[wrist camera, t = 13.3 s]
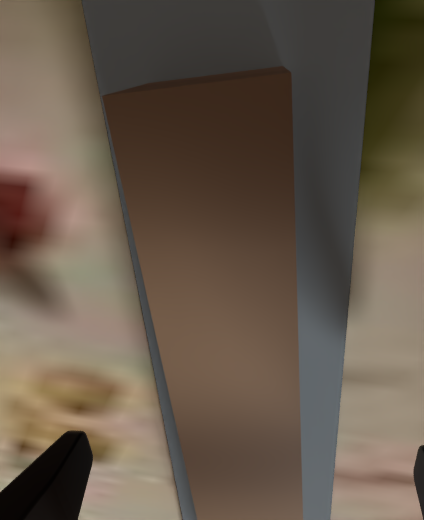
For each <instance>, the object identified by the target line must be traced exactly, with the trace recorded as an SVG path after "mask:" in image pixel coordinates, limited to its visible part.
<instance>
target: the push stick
mask: <svg viewBox="0 0 424 520" xmlns="http://www.w3.org/2000/svg"><path fill="white" fill-rule="evenodd" d="M102 99H103V103H104V107H105V112H106V116H107V121H108V125H109V130H110V134H111V139H112V143H113V147H114V152H115V156H116V161H117V165H118V170H119V174H120V178H121V183H122V187H123V192H124V196H125V201H126V205H127V209H128V214H129V218H130V223H131V227H132V232H133V236H134V241H135V245H136V249H137V254H138V258H139V263H140V267H141V272H142V276H143V280H144V285H145V289H146V294H147V298H148V303H149V307H150V311H151V316H152V320H153V325H154V329H155V334H156V338H157V343H158V347H159V351H160V356H161V360H162V365H163V369H164V374H165V378H166V382H167V387H168V391H169V396H170V400H171V405H172V409H173V413H174V418H175V422H176V427H177V431H178V436H179V440H180V445H181V449H182V453H183V458H184V462H185V467H186V471H187V476H188V480H189V484H190V489H191V493H192V498H193V502H194V507H195V511H196V515H197V520H303V496H302V458H301V420H300V382H299V343H298V305H297V267H296V229H295V190H294V152H293V114H292V76H291V72H290V71H289V70H287V69H286V68H285V67H283V66H279V67H271V68H264V69H256V70H248V71H240V72H232V73H224V74H216V75H208V76H200V77H192V78H184V79H177V80H169V81H161V82H153V83H147V84H143V85H140V86H136V87H133V88H129V89H125V90H122V91H118V92H114V93H111V94H107V95H103V96H102Z"/></svg>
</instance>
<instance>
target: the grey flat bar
mask: <svg viewBox="0 0 424 520" xmlns="http://www.w3.org/2000/svg"><path fill="white" fill-rule="evenodd" d="M82 5H83V10H84V16H85V21H86V26H87V31H88V36H89V41H90V46H91V51H92V57H93V62H94V67H95V72H96V77H97V82H98V87H99V92H100V97H101V103H102V108H103V113H104V118H105V123H106V128H107V133H108V138H109V144H110V149H111V154H112V159H113V164H114V169H115V174H116V179H117V185H118V190H119V195H120V200H121V205H122V210H123V215H124V220H125V225H126V231H127V236H128V241H129V246H130V251H131V256H132V261H133V266H134V272H135V277H136V282H137V287H138V292H139V297H140V302H141V307H142V313H143V318H144V323H145V328H146V333H147V338H148V343H149V348H150V353H151V359H152V364H153V369H154V374H155V379H156V384H157V389H158V394H159V400H160V405H161V410H162V415H163V420H164V425H165V430H166V435H167V441H168V446H169V451H170V456H171V461H172V466H173V471H174V476H175V481H176V487H177V492H178V497H179V502H180V507H181V512H182V517H183V520H197V515H196V511H195V507H194V502H193V498H192V493H191V489H190V484H189V480H188V476H187V471H186V467H185V462H184V458H183V453H182V449H181V445H180V440H179V436H178V431H177V427H176V422H175V418H174V413H173V409H172V405H171V400H170V396H169V391H168V387H167V382H166V378H165V374H164V369H163V365H162V360H161V356H160V351H159V347H158V343H157V338H156V334H155V329H154V325H153V320H152V316H151V311H150V307H149V303H148V298H147V294H146V289H145V285H144V280H143V276H142V272H141V267H140V263H139V258H138V254H137V249H136V245H135V241H134V236H133V232H132V227H131V223H130V218H129V214H128V209H127V205H126V201H125V196H124V192H123V187H122V183H121V178H120V174H119V170H118V165H117V161H116V156H115V152H114V147H113V143H112V139H111V134H110V130H109V125H108V121H107V116H106V112H105V107H104V103H103V99H102V96H103V95H107V94H111V93H114V92H118V91H122V90H125V89H129V88H133V87H136V86H140V85H143V84H147V83H153V82H161V81H169V80H177V79H184V78H192V77H200V76H208V75H216V74H224V73H232V72H240V71H248V70H256V69H264V68H271V67H279V66H283V67H285V68H286V69H287V70H289V71H290V72H291V76H292V114H293V152H294V190H295V229H296V267H297V305H298V343H299V382H300V420H301V458H302V496H303V520H330V514H331V503H332V491H333V480H334V468H335V457H336V445H337V433H338V422H339V410H340V399H341V387H342V376H343V364H344V352H345V341H346V329H347V318H348V306H349V294H350V283H351V271H352V260H353V248H354V237H355V225H356V213H357V202H358V190H359V179H360V167H361V156H362V144H363V132H364V121H365V109H366V98H367V86H368V75H369V63H370V51H371V40H372V28H373V17H374V5H375V0H82Z"/></svg>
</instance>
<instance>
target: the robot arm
mask: <svg viewBox="0 0 424 520" xmlns="http://www.w3.org/2000/svg"><path fill="white" fill-rule="evenodd" d="M92 462H93V454H92V450H91V447H90V444H89V441H88V438H87V435H86V433H85V432H84V431H67V432H66V433H64V434H63V435H62V436H61V437H60V438H59V439H58V440H57V441H55V442H54V443H53V444H52V445H51V446H50V447H49V448H48V449H47V450H46V451H45V452H43V453H42V454H41V455H40V456H39V457H38V458H37V459H36V460H35V461H34V462H33V463H32V464H30V465H29V466H28V467H27V468H26V469H25V470H24V471H23V472H22V473H21V474H20V475H18V476H17V477H16V478H15V479H14V480H13V481H12V482H11V483H10V484H9V485H8V486H7V487H5V488H4V489H3V490H2V491H1V492H0V520H78V516H79V513H80V509H81V505H82V501H83V497H84V493H85V490H86V486H87V482H88V478H89V474H90V470H91V467H92ZM414 482H415V486H416V490H417V494H418V499H419V503H420V507H421V511H422V515H423V520H424V445H421V446H420V447H419V449H418V452H417V457H416V461H415V466H414Z"/></svg>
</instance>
